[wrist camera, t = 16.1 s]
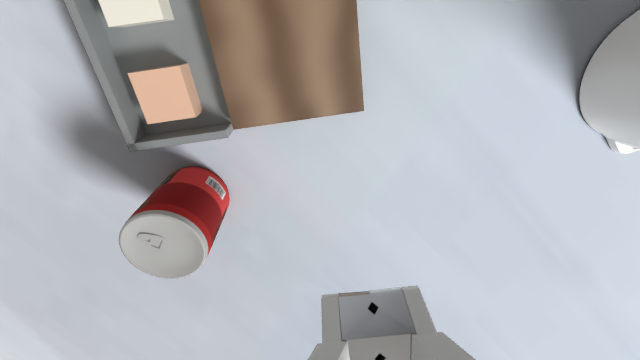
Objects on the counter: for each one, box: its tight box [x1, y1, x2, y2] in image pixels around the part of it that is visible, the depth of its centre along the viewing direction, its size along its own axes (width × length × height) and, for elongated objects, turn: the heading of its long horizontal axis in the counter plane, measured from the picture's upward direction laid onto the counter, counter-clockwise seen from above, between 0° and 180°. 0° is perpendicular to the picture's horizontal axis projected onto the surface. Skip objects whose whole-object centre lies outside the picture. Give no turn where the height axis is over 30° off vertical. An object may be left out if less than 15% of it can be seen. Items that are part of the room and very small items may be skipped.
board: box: [199, 0, 364, 130], centre depth 30 cm, size 14×18×2 cm
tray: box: [64, 0, 233, 152], centre depth 29 cm, size 10×19×4 cm, turn 8°
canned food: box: [119, 167, 229, 279], centre depth 34 cm, size 8×8×11 cm
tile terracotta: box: [128, 63, 203, 124], centre depth 31 cm, size 5×5×2 cm
